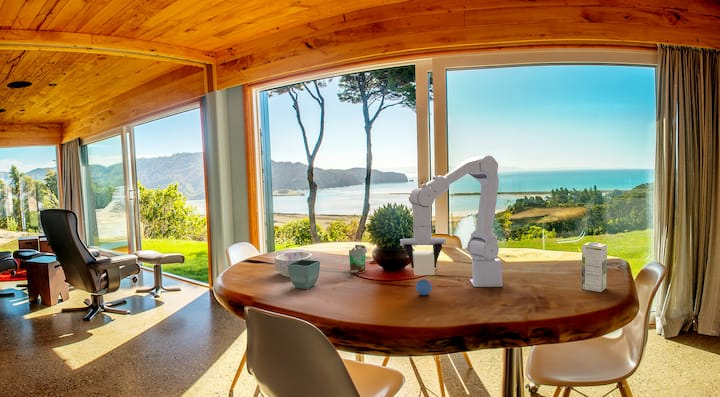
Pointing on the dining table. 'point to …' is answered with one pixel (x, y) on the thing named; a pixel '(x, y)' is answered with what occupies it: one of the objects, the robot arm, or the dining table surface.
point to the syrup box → (594, 266)
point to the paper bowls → (289, 260)
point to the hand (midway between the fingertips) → (423, 267)
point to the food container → (357, 259)
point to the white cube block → (423, 263)
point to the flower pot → (304, 273)
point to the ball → (423, 287)
